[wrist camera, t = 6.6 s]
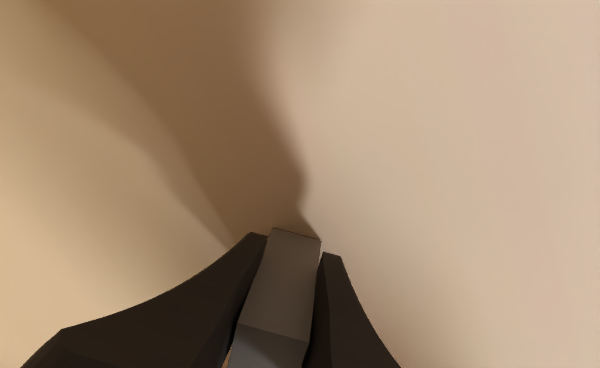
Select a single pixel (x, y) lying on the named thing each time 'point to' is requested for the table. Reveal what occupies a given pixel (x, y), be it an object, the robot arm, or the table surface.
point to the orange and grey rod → (278, 305)
